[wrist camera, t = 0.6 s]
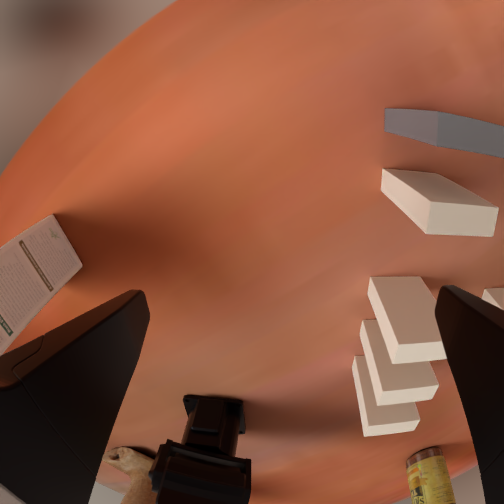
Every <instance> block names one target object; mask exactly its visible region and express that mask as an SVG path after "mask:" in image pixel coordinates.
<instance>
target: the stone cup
mask: <svg viewBox="0 0 504 504" xmlns="http://www.w3.org/2000/svg"><path fill="white" fill-rule="evenodd" d="M102 460H103V461H104V462H106V463H108V464H109V465H111V466H113V467H115V468H117V469H118V470H120V471H122V472H124V473H126V474H127V475H129V477H130V478H131V484H130V487H129V489H128V491H127V493H126V495H125V496H124V498H123V500H122V502H121V504H155V502H156V497H157V494H158V493H154V492H152V485H151V482H152V481H151V480H150V478H149V477H148V473H149V470H150V468H151V466H152V464H153V462H154V459H152V458H150V457H148V456H145V455H143V454H141V453H139V452H137V451H135V450H133V449H130V448H126V447H120V448H116V449H112V450H111V451H108V452H106V453H105V454H104V455H103V458H102Z"/></svg>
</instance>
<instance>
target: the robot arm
mask: <svg viewBox="0 0 504 504" xmlns="http://www.w3.org/2000/svg"><path fill="white" fill-rule="evenodd" d="M435 318H436V322H437V325H438V329H439V332H440V336H441V339H442V343H443V347H444V351H445V354H446V357H447V360H448V363H449V366H450V369H451V371H452V374H453V377H454V380H455V383H456V386H457V389H458V392H459V395H460V398H461V401H462V405H463V408H464V411H465V415H466V418H467V421H468V425H469V429H470V432H471V436H472V440H473V444H474V448H475V452H476V456H477V460H478V465H479V469H480V473H481V480H482V485H483V490H484V496H485V502H486V504H504V310H502V309H500V308H499V307H497V306H495V305H493V304H491V303H489V302H487V301H485V300H483V299H481V298H479V297H477V296H475V295H473V294H471V293H469V292H467V291H465V290H463V289H461V288H459V287H457V286H455V285H444V286H442V287H441V288H440V291H439V294H438V298H437V302H436V306H435ZM149 320H150V312H149V308H148V304H147V301H146V297H145V294H144V292H143V291H142V290H129V291H127V292H125V293H123V294H121V295H119V296H117V297H115V298H113V299H111V300H109V301H107V302H105V303H103V304H101V305H99V306H98V307H96V308H94V309H92V310H90V311H88V312H86V313H84V314H82V315H80V316H78V317H76V318H74V319H72V320H70V321H69V322H67V323H65V324H63V325H61V326H59V327H57V328H55V329H53V330H51V331H49V332H47V333H46V334H45V335H42V336H40V337H38V338H36V339H34V340H32V341H30V342H28V343H26V344H24V345H22V346H20V347H18V348H16V349H14V350H12V351H10V352H8V353H5V354H3V355H1V356H0V504H88V502H89V499H90V496H91V493H92V489H93V486H94V483H95V480H96V476H97V473H98V470H99V467H100V464H101V461H102V458H103V455H104V452H105V449H106V446H107V443H108V440H109V437H110V434H111V431H112V429H113V426H114V423H115V420H116V417H117V415H118V412H119V409H120V407H121V404H122V401H123V399H124V396H125V393H126V391H127V388H128V385H129V383H130V380H131V378H132V375H133V372H134V370H135V367H136V365H137V362H138V359H139V356H140V353H141V349H142V345H143V342H144V338H145V335H146V331H147V327H148V324H149ZM183 402H184V405H185V409H186V412H187V415H188V421H187V425H186V428H185V432H184V435H183V439H182V442H181V444H180V443H177V442H173V440H169V439H167V442H166V444H161V445H160V447H159V450H158V453H157V455H156V458H155V460H154V462H153V464H152V466H151V468H150V470H149V473H148V477H149V478H150V480H151V481H152V482H151V485H152V492H154V493H158V494H157V497H156V502H155V504H248V503H249V499H250V493H251V459H247V458H246V459H243V458H238V457H235V454H236V447H237V441H238V434H245V430H246V429H245V418H244V406H243V402H242V401H241V400H232V399H219V398H208V397H199V396H190V395H185V396H184V397H183Z"/></svg>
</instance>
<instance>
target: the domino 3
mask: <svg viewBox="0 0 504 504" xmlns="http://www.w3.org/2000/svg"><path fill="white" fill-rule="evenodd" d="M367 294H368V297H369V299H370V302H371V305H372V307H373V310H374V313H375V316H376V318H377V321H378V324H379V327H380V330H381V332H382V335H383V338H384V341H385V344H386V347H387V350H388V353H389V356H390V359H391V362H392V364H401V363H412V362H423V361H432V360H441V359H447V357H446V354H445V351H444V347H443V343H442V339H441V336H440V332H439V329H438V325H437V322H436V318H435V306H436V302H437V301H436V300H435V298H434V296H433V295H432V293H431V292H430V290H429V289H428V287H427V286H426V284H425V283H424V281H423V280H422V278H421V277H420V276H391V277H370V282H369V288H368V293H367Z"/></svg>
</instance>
